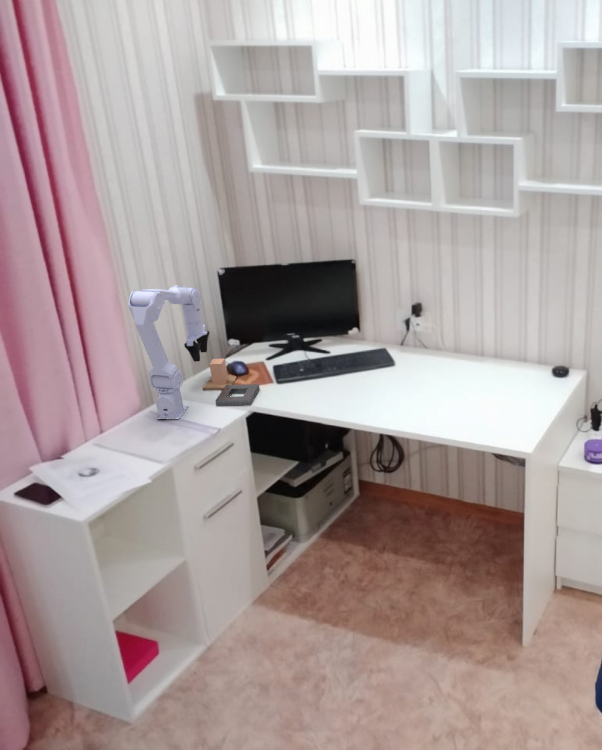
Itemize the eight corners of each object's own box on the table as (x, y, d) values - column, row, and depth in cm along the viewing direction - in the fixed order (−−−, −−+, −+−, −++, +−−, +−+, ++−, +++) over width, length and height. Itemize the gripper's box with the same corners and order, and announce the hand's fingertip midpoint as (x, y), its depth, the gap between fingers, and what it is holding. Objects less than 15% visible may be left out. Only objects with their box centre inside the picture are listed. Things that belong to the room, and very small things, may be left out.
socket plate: (250, 405, 292) (249, 400, 291) (216, 406, 295) (215, 400, 294) (259, 389, 302) (258, 384, 301) (226, 390, 305) (226, 384, 304)
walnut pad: (229, 390, 305) (229, 387, 305) (202, 390, 308) (202, 388, 307) (237, 377, 314) (237, 375, 313) (211, 377, 316) (211, 375, 316)
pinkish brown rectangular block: (225, 384, 308) (221, 363, 305) (213, 384, 309) (209, 364, 306) (228, 378, 312) (224, 358, 308) (216, 379, 313) (212, 358, 309)
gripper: (197, 328, 296) (204, 364, 301) (210, 312, 308) (217, 347, 314) (177, 329, 298) (185, 365, 303) (192, 313, 310) (199, 348, 316)
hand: (200, 356), depth 309 cm, fingers open, 7 cm apart
